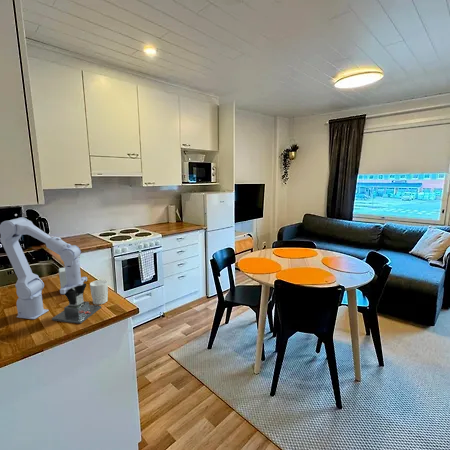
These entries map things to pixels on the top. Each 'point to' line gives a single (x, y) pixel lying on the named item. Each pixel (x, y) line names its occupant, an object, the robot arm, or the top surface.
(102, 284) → the white cup
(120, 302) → the top surface
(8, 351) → the top surface
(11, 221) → the robot arm
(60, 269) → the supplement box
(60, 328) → the top surface
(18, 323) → the top surface
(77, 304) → the steel column
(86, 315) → the gray frame
